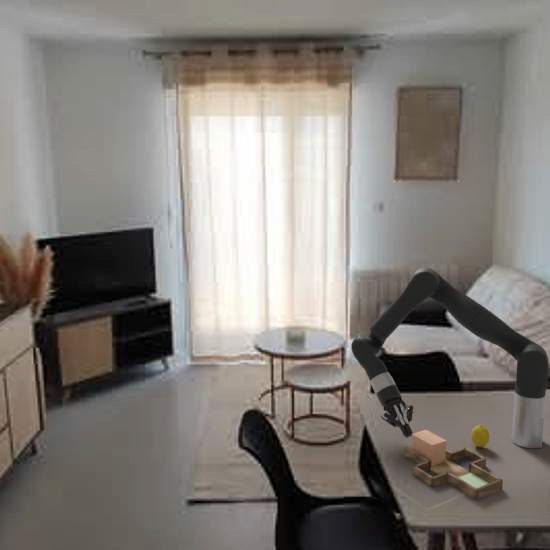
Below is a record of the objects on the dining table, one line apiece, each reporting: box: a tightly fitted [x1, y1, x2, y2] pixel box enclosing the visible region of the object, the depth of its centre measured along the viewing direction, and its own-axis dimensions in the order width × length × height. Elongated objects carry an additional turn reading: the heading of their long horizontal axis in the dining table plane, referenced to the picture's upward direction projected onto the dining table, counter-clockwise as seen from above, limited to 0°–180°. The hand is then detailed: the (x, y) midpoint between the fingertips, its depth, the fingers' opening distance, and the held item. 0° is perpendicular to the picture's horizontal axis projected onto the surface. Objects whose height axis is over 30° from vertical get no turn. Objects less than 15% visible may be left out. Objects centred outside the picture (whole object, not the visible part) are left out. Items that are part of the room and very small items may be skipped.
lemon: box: [470, 424, 490, 448], centre depth 194 cm, size 6×6×8 cm
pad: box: [459, 473, 489, 488], centre depth 172 cm, size 10×9×1 cm
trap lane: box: [404, 447, 504, 501], centre depth 180 cm, size 29×22×3 cm
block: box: [410, 429, 447, 467], centre depth 187 cm, size 9×6×7 cm, turn 30°
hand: (409, 436), depth 194 cm, fingers closed
